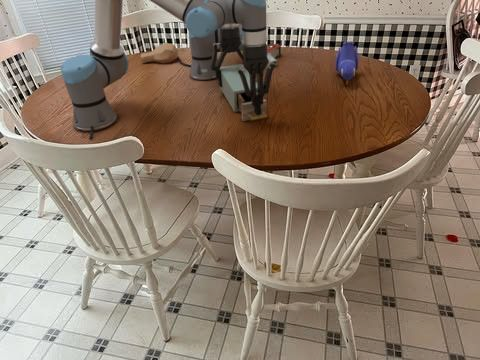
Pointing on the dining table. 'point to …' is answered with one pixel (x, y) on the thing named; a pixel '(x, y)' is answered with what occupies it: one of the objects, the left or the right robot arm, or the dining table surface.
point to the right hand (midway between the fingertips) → (233, 84)
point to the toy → (347, 61)
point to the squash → (161, 54)
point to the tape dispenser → (273, 53)
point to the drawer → (249, 108)
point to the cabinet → (233, 84)
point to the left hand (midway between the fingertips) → (257, 113)
